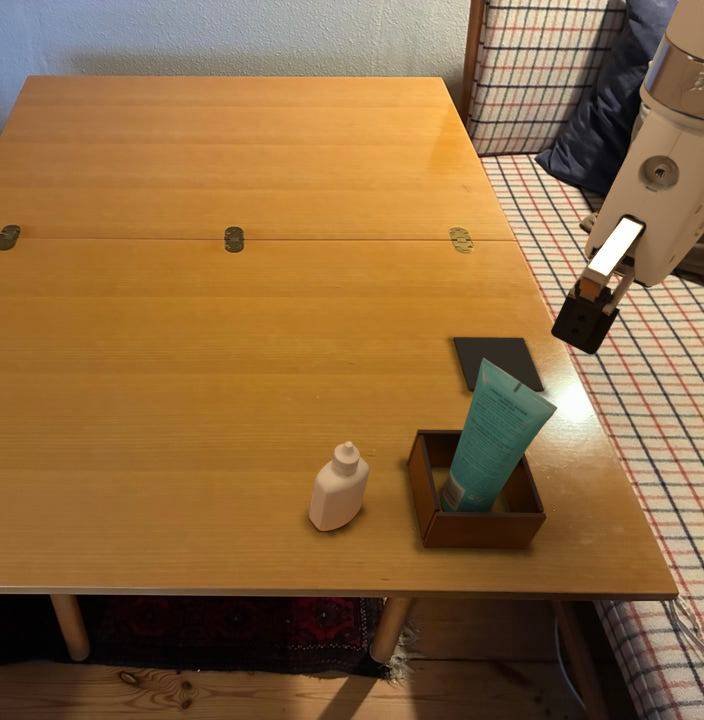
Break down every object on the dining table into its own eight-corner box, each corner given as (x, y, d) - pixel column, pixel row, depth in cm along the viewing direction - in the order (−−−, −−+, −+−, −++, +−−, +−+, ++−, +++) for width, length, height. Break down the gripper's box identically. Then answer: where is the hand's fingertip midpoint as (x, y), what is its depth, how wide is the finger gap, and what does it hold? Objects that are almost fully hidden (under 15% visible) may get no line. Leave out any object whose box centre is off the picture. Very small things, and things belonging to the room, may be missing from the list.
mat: (522, 339, 91) (523, 337, 90) (543, 391, 84) (544, 389, 84) (453, 339, 91) (453, 336, 90) (468, 390, 84) (469, 388, 84)
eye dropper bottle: (305, 496, 74) (315, 426, 65) (357, 494, 74) (374, 424, 66) (310, 533, 71) (322, 465, 62) (364, 530, 71) (383, 462, 63)
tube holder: (500, 463, 77) (517, 430, 73) (527, 548, 70) (547, 517, 65) (406, 462, 77) (417, 429, 73) (423, 547, 70) (436, 515, 66)
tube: (506, 512, 73) (572, 391, 59) (481, 541, 70) (543, 422, 57) (446, 470, 76) (494, 347, 63) (420, 496, 74) (464, 374, 60)
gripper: (745, 162, 32) (602, 401, 45) (843, 51, 41) (699, 278, 53) (589, 109, 36) (496, 344, 48) (708, 17, 44) (603, 237, 57)
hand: (603, 309), depth 51 cm, fingers open, 9 cm apart
